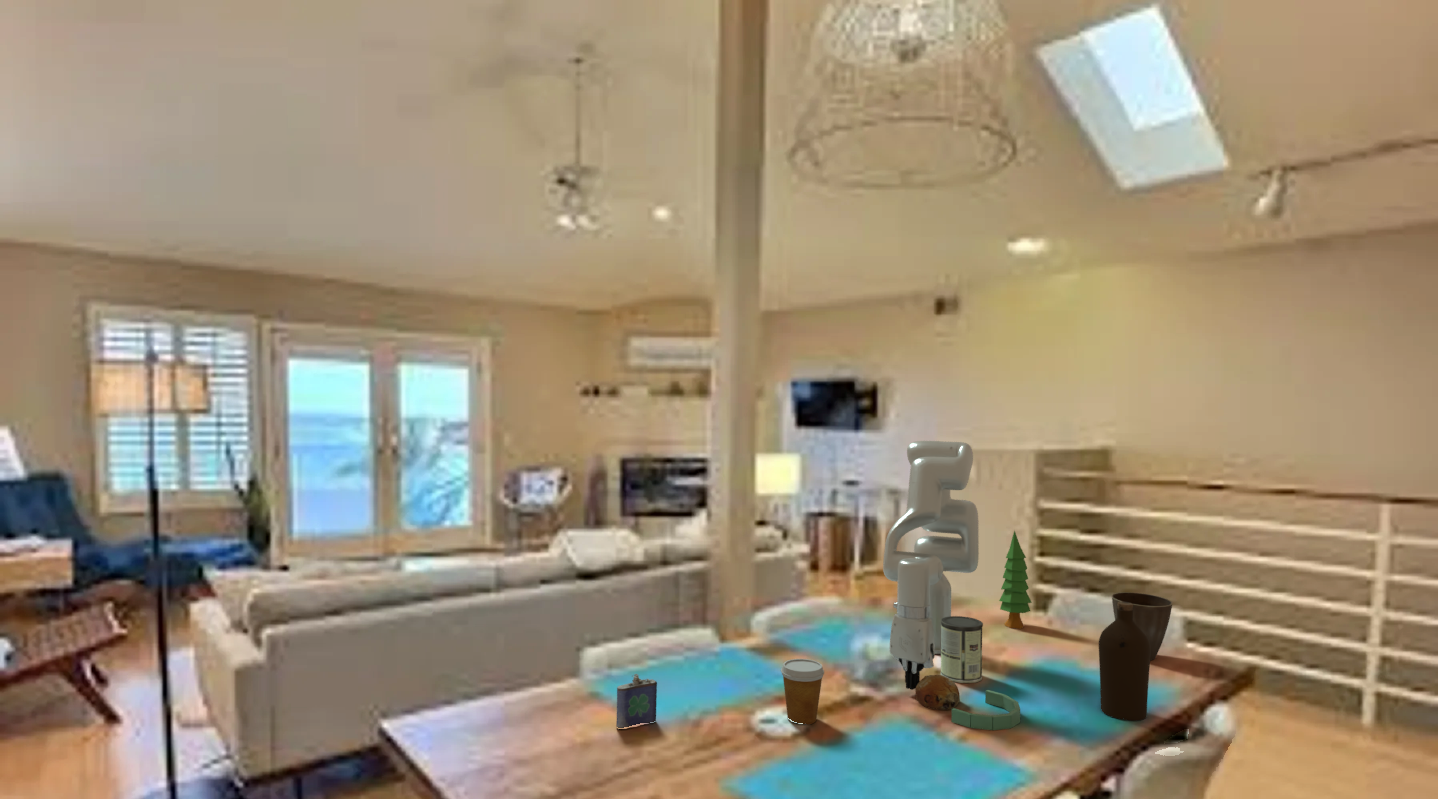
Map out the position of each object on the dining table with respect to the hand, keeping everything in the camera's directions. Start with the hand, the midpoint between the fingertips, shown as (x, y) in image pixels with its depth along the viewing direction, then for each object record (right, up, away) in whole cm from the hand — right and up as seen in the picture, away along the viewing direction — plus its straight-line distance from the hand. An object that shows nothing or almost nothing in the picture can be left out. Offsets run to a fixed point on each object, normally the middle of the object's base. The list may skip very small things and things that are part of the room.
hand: (912, 687), depth 197 cm
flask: (-64, -1, -20) cm, 67 cm away
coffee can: (+15, -2, +13) cm, 20 cm away
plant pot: (+70, -2, +31) cm, 77 cm away
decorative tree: (+46, -2, +60) cm, 76 cm away
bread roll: (+5, -2, -5) cm, 7 cm away
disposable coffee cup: (-28, -2, -16) cm, 32 cm away
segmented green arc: (+14, -2, -14) cm, 20 cm away
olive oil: (+46, -3, -10) cm, 47 cm away
